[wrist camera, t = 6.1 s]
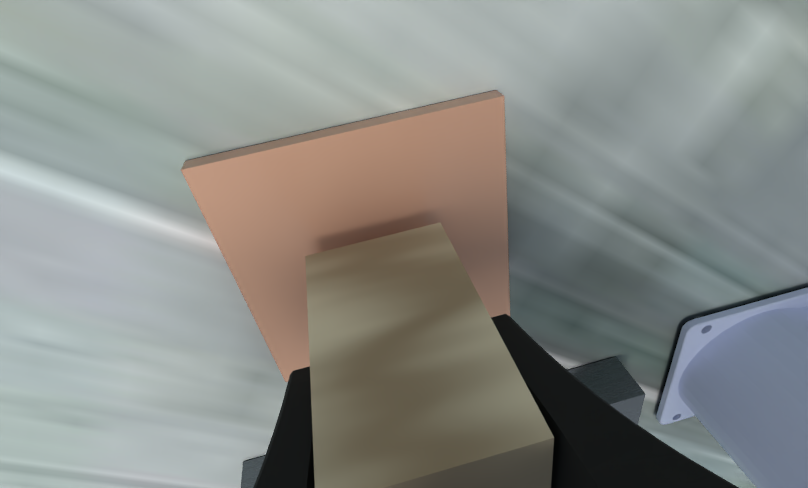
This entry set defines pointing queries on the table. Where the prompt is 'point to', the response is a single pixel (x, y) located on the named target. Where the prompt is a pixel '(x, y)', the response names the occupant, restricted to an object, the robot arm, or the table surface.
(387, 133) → the tile
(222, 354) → the table surface
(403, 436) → the peg
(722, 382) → the robot arm
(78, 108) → the table surface
